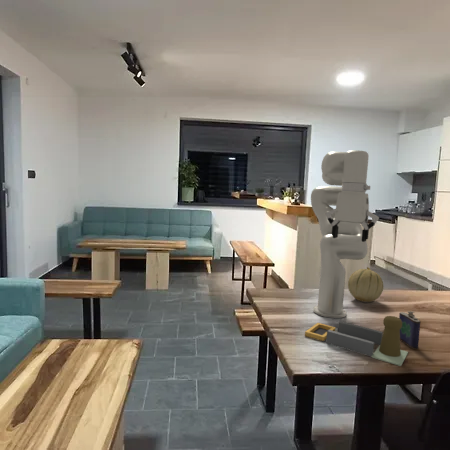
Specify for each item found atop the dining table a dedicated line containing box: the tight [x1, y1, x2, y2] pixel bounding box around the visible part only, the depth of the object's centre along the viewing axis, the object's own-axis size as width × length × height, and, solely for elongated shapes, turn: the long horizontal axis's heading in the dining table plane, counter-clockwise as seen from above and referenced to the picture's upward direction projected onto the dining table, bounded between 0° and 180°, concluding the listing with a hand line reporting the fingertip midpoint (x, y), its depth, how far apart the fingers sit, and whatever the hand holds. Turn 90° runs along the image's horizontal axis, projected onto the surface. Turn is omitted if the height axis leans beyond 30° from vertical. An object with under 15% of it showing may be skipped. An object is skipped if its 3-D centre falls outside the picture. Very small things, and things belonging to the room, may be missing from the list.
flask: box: [398, 310, 421, 350], centre depth 119 cm, size 9×3×11 cm, turn 8°
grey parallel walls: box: [325, 320, 384, 358], centre depth 117 cm, size 12×14×4 cm
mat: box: [371, 345, 409, 367], centre depth 110 cm, size 11×8×1 cm
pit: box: [304, 322, 337, 342], centre depth 123 cm, size 11×6×2 cm, turn 144°
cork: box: [379, 315, 402, 357], centre depth 110 cm, size 6×6×11 cm
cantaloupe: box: [347, 266, 384, 303], centre depth 163 cm, size 15×15×15 cm
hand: (349, 239), depth 123 cm, fingers open, 9 cm apart
